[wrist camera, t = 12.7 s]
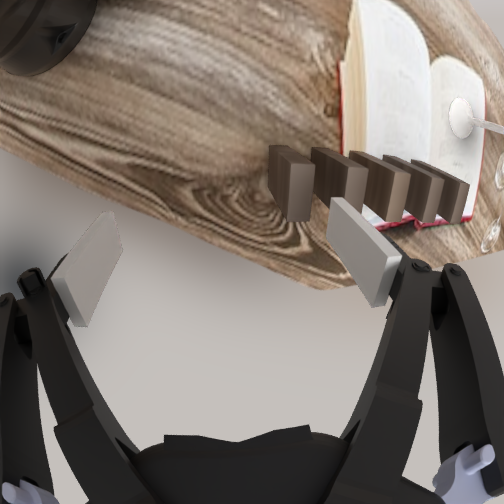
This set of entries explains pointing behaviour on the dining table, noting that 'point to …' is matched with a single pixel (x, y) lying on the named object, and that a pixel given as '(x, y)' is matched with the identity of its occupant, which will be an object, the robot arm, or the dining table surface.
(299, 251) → the dining table surface
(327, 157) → the domino
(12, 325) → the robot arm
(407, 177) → the domino
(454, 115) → the champagne flute
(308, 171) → the domino
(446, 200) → the domino
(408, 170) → the domino
